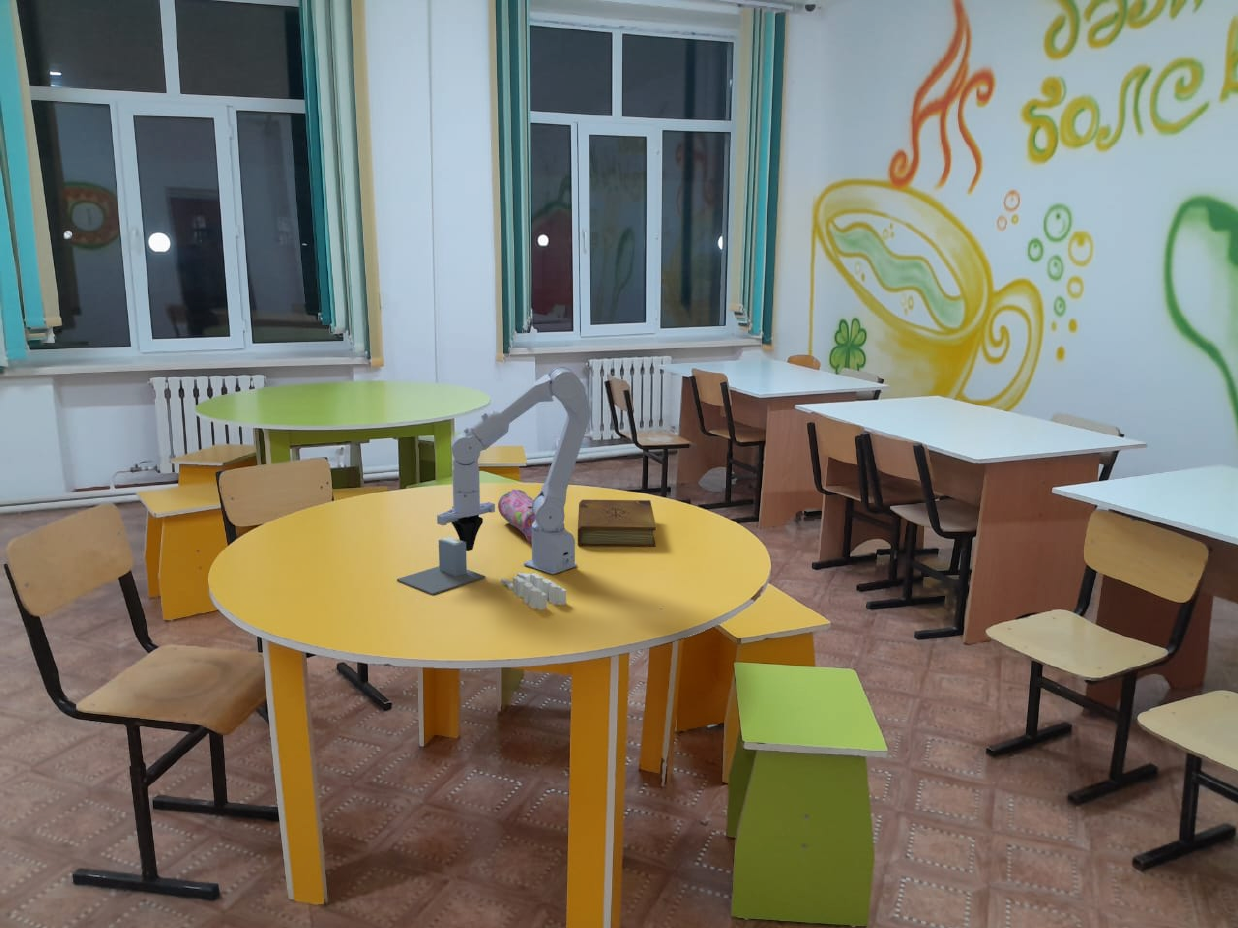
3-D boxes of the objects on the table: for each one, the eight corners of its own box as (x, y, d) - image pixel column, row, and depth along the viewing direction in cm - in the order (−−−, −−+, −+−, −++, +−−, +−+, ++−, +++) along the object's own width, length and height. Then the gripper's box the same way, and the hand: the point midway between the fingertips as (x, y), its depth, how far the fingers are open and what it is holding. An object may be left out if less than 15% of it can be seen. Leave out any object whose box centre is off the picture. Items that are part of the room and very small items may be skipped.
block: (466, 573, 195) (466, 541, 193) (455, 576, 193) (455, 544, 191) (450, 567, 198) (449, 535, 197) (439, 570, 196) (438, 538, 195)
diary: (578, 520, 238) (579, 499, 236) (649, 521, 238) (650, 500, 237) (577, 548, 215) (577, 525, 214) (655, 549, 216) (656, 526, 215)
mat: (485, 577, 194) (485, 575, 193) (432, 595, 183) (432, 593, 183) (449, 564, 201) (449, 562, 201) (396, 580, 191) (396, 578, 191)
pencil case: (559, 542, 218) (559, 506, 216) (523, 547, 215) (523, 510, 213) (530, 518, 237) (530, 485, 235) (496, 522, 234) (496, 488, 231)
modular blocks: (566, 605, 180) (566, 586, 179) (536, 612, 176) (536, 592, 176) (518, 576, 196) (518, 558, 195) (490, 581, 192) (490, 564, 191)
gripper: (479, 480, 203) (480, 538, 206) (427, 492, 192) (429, 553, 195) (501, 486, 198) (501, 545, 201) (448, 498, 187) (450, 560, 191)
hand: (467, 549), depth 198 cm, fingers closed
